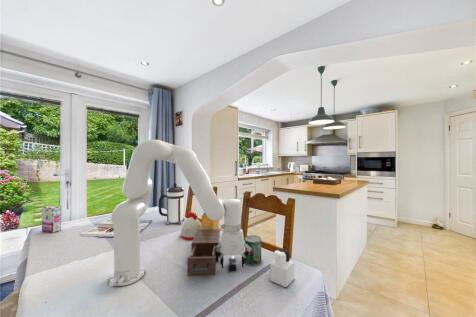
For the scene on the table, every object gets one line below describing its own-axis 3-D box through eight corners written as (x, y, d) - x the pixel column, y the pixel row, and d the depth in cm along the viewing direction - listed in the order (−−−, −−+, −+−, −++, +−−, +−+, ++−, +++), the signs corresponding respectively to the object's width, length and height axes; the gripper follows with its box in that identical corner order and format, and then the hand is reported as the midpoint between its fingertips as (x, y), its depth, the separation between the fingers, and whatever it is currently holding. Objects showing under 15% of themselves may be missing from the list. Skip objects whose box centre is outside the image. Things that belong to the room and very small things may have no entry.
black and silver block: (236, 271, 87) (236, 263, 87) (228, 271, 87) (228, 263, 87) (236, 262, 94) (236, 254, 94) (228, 262, 94) (228, 255, 94)
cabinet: (218, 262, 95) (218, 242, 95) (191, 262, 94) (191, 243, 94) (220, 245, 112) (220, 229, 112) (197, 245, 112) (197, 229, 112)
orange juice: (201, 240, 119) (201, 207, 119) (207, 234, 128) (207, 203, 127) (213, 242, 117) (213, 208, 117) (219, 236, 125) (219, 204, 125)
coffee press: (179, 217, 163) (179, 181, 163) (188, 222, 151) (188, 183, 151) (158, 222, 152) (158, 183, 152) (166, 227, 140) (165, 185, 140)
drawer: (214, 282, 77) (214, 263, 77) (184, 283, 77) (184, 264, 77) (217, 255, 99) (217, 240, 99) (194, 256, 98) (194, 241, 98)
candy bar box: (61, 230, 135) (61, 206, 135) (52, 233, 130) (52, 208, 130) (50, 228, 139) (50, 205, 138) (41, 231, 134) (41, 206, 134)
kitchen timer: (192, 241, 117) (192, 216, 117) (176, 236, 124) (176, 213, 124) (207, 234, 129) (207, 211, 129) (192, 230, 136) (192, 208, 136)
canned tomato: (264, 260, 96) (264, 237, 96) (256, 267, 90) (256, 243, 90) (250, 255, 101) (250, 234, 101) (241, 262, 94) (241, 239, 94)
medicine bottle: (278, 272, 86) (278, 245, 86) (293, 279, 81) (294, 250, 81) (269, 280, 80) (269, 251, 80) (286, 288, 76) (286, 256, 76)
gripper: (212, 230, 85) (212, 271, 85) (252, 230, 85) (252, 270, 86) (213, 224, 92) (213, 261, 92) (250, 224, 93) (250, 261, 93)
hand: (232, 265), depth 89 cm, fingers open, 8 cm apart
